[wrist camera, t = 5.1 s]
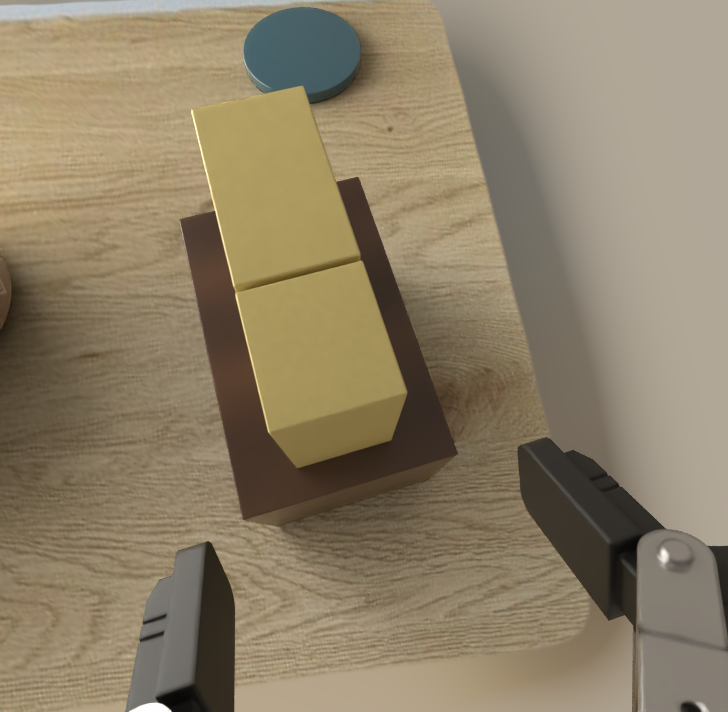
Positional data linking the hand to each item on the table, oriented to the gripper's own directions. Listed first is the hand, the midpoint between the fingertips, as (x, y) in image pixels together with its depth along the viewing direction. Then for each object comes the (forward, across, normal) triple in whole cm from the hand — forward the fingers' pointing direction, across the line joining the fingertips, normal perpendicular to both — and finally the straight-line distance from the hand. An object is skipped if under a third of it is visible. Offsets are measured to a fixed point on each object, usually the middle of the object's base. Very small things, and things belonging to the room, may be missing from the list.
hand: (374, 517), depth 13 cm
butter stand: (+21, 0, +7) cm, 22 cm away
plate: (+42, -6, -13) cm, 44 cm away
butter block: (+16, 0, -2) cm, 16 cm away
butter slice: (+11, 0, +3) cm, 12 cm away
